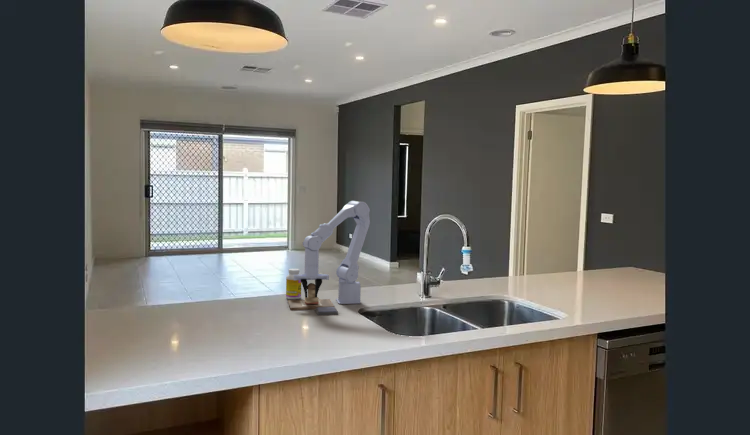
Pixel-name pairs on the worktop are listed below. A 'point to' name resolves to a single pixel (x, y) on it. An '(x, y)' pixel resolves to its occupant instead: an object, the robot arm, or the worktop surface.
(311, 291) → the stamp
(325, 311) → the ink pad
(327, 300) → the board
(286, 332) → the worktop surface
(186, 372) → the worktop surface
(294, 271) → the supplement bottle
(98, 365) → the worktop surface
